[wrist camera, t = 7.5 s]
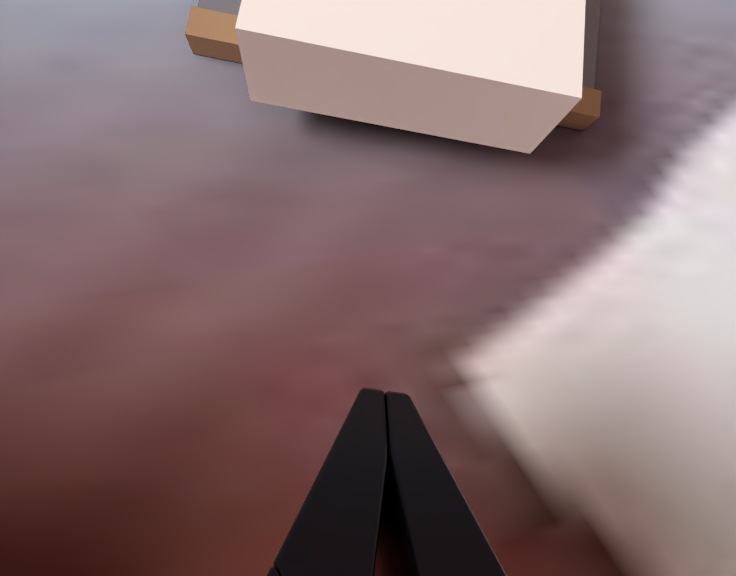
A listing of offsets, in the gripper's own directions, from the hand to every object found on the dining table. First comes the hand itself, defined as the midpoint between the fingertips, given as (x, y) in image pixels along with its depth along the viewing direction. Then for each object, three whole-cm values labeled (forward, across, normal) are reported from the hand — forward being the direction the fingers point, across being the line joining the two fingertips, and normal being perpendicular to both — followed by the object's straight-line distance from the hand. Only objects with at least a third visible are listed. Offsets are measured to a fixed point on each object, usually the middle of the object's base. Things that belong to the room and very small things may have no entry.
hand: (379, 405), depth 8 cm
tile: (+8, 0, -3) cm, 9 cm away
